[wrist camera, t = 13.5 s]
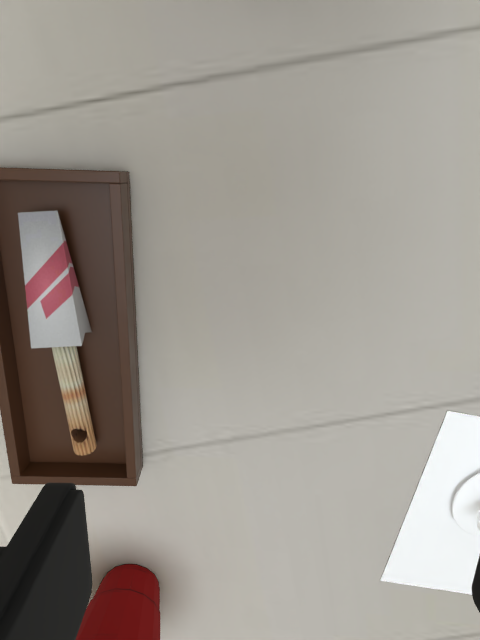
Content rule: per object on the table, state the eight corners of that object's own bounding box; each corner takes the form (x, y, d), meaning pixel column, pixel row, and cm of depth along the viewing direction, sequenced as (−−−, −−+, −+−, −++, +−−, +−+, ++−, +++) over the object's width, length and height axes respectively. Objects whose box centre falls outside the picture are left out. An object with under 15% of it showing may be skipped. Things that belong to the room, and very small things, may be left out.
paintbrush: (57, 212, 29) (102, 458, 37) (71, 208, 32) (110, 438, 39) (-1, 215, 29) (55, 460, 37) (18, 210, 32) (67, 440, 39)
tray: (-17, 166, 32) (-39, 166, 30) (129, 171, 32) (119, 171, 30) (26, 463, 40) (11, 483, 38) (143, 465, 40) (136, 486, 38)
